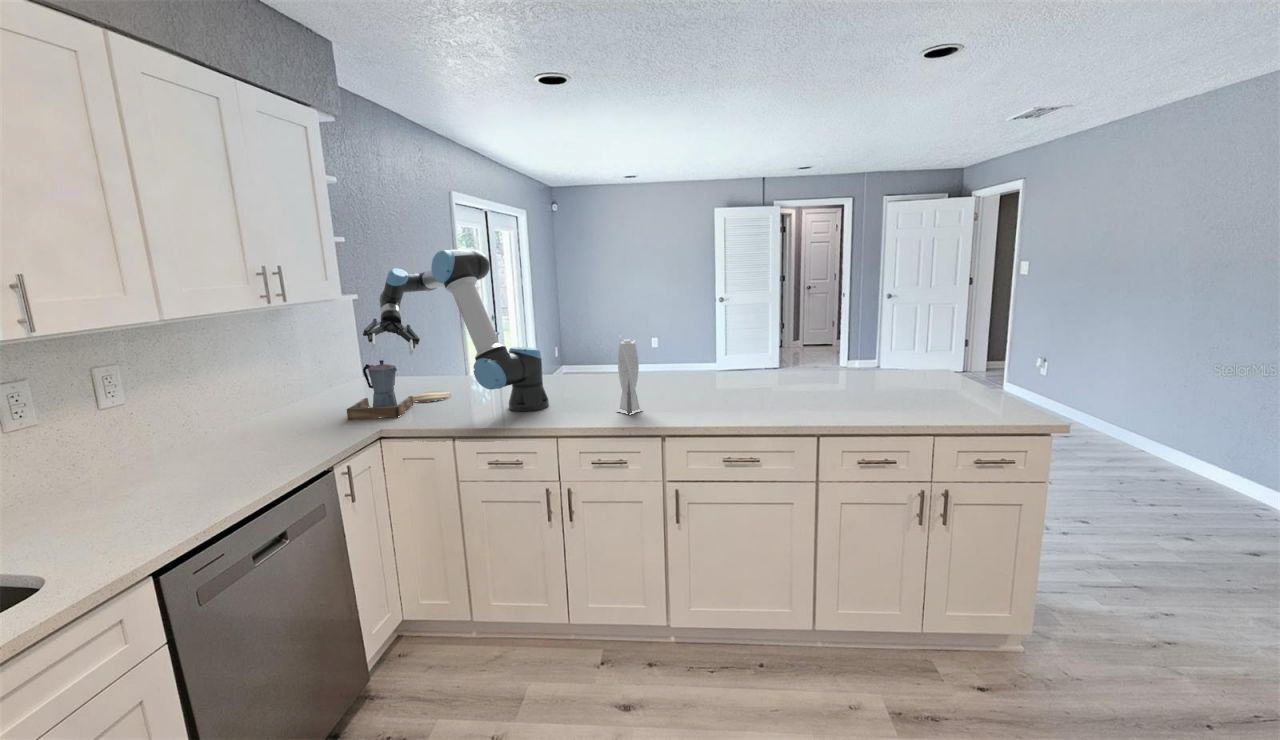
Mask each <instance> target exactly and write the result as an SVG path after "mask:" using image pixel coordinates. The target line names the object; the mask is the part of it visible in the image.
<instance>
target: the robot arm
mask: <svg viewBox="0 0 1280 740" xmlns="http://www.w3.org/2000/svg"><path fill="white" fill-rule="evenodd" d="M490 267H491V265H490V260H489V259H488V257H487V256H486V255H485V253H483V252H482V251H480V250H477V249H444V250H443V249H442V250H439V251H437V252H436V253H435V254H434V256H433V257H432V260H431V269H429V270H427V271H423V272H418V273H408V272H407V271H406V270H404V269H401V268H398V267H394V268H391V269H389V271H388V273H387V276H386V279H385V284H384V288H383V291H381V292H380V296H379V304H380V305H379V308H380V309H379V310H380V321H379V320H378V319H377V318H373V320H372V322H371V323H370V324H368V325H367V326H366V327H365V328H364V329H363V332H362V336H363V337H367V340H368V342H369V343H371V344H370V345H371V346H370V347H371V350H375V347H376V346H375V345H376V336H378V335H380V334H383V333H386V332H387V333H392V334H396V335H397V336H400V337H401V338H402V339H404V341H406V342H408V350H409V351H408V353H409V356H412V355H413V353H414V350H415V348H416V346H417V345H419V343H420V340H421V339H420V337H419V335H417V334H416V333H415V331H414V330H413V329H412V327H411V325H410V324H406V325H403V324H402V317H401V316H402V314H401V302H402V299H403V296H404V293H412V292H414V293H415V292H429V291H435V290H437V289H438V288H439V287H444V288H445V290H446V291H447V292H448V293H451V294H452V296H453V298H454V300H455V303H456V306H457V308H458V310H459V312H460V315H461V317H462V320H463V322H464V324H465V325H464V326H465V327H466V329H467V332H468V335H469V337H470V339H471V341H472V344H473V346H474V349H475V351H476V353H475V357H474V359H475V361H474V364H473V375H474V378H475V380H476V381H477V383H478V384H479V385H480V386H481V387H482V388H485V389H486V390H489V391H490V390H500V389H502V388H504V387H507V386H508V387H509V386H512V387H511V392H510V396H509V399H508V400H509V401H508V409H509V410H511V411H514V412H533V411H540V410H543V409H547V408H548V407H549V405H550V404H549V397H548V395H547V393H546V390H545V387H544V382H543V364H542V363H543V362H542V353H541V351H540V349H539V348H536V347H535V348H534V347H525V346H523V347H522V346H521V347H519V346H518V347H517V346H515V347H510V348H509V350H508V349H507V346H505V345H504V344H502V343H500V341H499V339H498V336H497V334H496V331H495V329H494V327H493V324H492V322H491V320H490V318H489V316H488V313H487V310H486V308H485V306H484V304H483V301H482V299H481V296H480V294H479V292H478V289H477V287H476V283H477V281H480V280H482V279H484V278H485V277H487V275H488V274H489V271H490ZM377 326H378V327H377Z"/></svg>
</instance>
